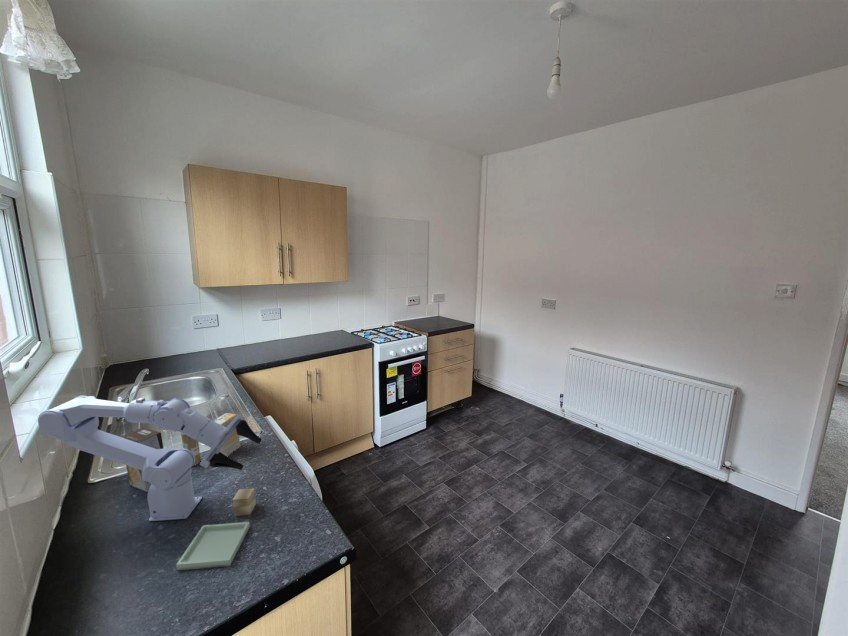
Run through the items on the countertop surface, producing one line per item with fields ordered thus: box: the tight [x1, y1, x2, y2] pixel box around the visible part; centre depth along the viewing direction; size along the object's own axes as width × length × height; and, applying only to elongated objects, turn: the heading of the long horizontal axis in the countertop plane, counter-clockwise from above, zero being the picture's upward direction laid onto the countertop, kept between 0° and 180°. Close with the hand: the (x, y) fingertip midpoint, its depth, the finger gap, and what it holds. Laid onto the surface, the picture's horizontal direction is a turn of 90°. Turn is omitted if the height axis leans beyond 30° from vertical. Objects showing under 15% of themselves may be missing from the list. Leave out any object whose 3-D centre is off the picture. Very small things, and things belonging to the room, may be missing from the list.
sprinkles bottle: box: [179, 432, 202, 466], centre depth 114 cm, size 5×5×13 cm
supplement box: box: [213, 412, 241, 456], centre depth 120 cm, size 8×5×13 cm, turn 169°
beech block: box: [232, 487, 256, 517], centre depth 94 cm, size 4×4×5 cm
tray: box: [175, 521, 251, 571], centre depth 82 cm, size 11×11×2 cm
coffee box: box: [120, 426, 164, 493], centre depth 104 cm, size 9×6×16 cm
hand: (251, 454), depth 92 cm, fingers open, 7 cm apart
